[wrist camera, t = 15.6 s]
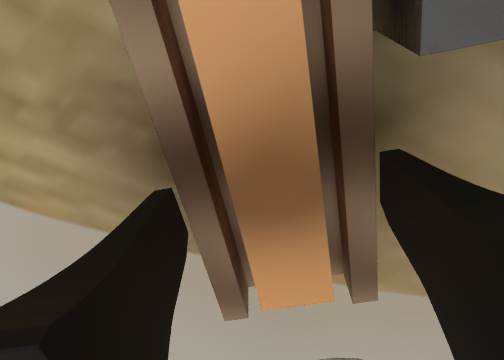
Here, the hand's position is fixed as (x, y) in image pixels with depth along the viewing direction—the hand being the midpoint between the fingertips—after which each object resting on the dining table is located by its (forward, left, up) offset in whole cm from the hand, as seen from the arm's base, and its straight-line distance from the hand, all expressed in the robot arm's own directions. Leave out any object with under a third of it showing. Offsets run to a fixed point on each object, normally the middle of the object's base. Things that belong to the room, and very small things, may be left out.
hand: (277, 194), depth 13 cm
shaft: (0, -2, -3) cm, 4 cm away
